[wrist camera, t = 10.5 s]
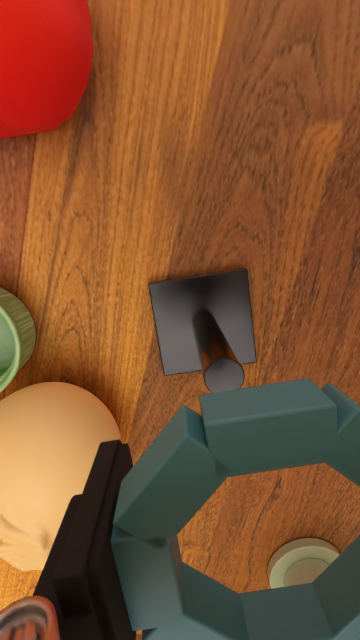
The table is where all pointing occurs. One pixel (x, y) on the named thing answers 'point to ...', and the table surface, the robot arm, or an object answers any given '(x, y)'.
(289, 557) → the ring stand
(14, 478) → the sculpture
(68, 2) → the tomato
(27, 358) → the ramekin
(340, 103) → the table surface
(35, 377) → the table surface
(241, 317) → the black peg stand
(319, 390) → the ring
